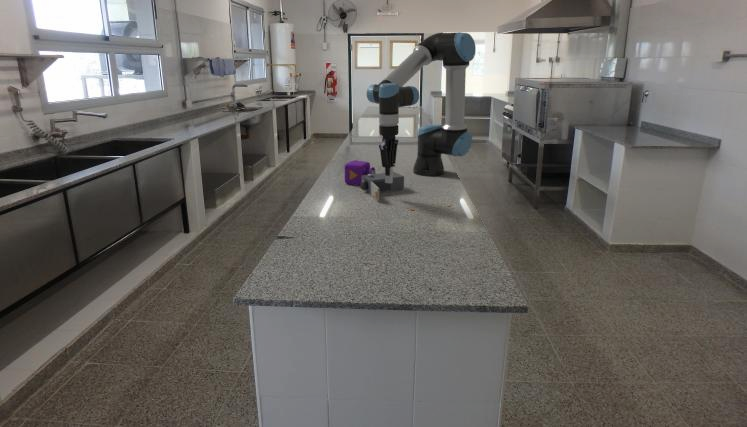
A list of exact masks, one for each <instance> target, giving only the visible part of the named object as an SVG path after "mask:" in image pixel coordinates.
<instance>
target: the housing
mask: <svg viewBox="0 0 747 427" xmlns="http://www.w3.org/2000/svg"><path fill="white" fill-rule="evenodd" d="M371 181H373V183H374V184H375V185H376V186H377V187H378V188H379V194H382V193H383V194H384V193H390V192H399V191H404V190H405V176H404V175H402V174H400V173H397V172H396V171H393V183H385V172H380V173H375V174H368V175H362V176H361V185H360V188H361V189H360V190H362V191H365V192H366V193H368V194H369V195H371Z"/></svg>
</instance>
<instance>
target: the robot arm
mask: <svg viewBox="0 0 747 427" xmlns="http://www.w3.org/2000/svg"><path fill="white" fill-rule="evenodd" d="M476 50H477V49H476V42H475V40H474V38H473V36H472V35H471V34H470V33H467V32H462V31H461V32H437V33H435V34H431V35H429V36H428V37H425V38H424V39H423V40H422V41H420V42H419V43H418V44H417V45H416V46H414V48H413V50H412V53H410V54H409V55H408V56H407V57H406V58H405V59H404V60H402V62H401V63H400V64H398V66H396V68H394V69H393V70H391V72H390V73H389V74H388V75H387V76H385V78H384V79H382V81H380V82H379V83H378V84H377V83H375V84H370V85H369V86H368V87H367V90H366V98H367V100H368V101H369V102H370V103H372V104H377V105H379V106H378V107H379V110H378V113H379V115H378V119H379V120H378V121H379V125H378V130H379V135H380V136H382V140H381V141H382V142H381V144H379V145H378V148H379V152H380V159H381V160H380V161H381V166H382V168H384V173H385V183H393V172H394V171H393V167H394V168H395V167H396V161H397V153H398V152H397V151H398V144H399V139H396V136H397V135H399V122H400V121H399V120H400V119H399V108H403V107H411V106H414V105H416V104H417V103H418V102H419V101H420V91H419V89H418V88H417V87H416V86H412V85H406V84H407V83H408V82H409V81H410V80H411V79H412V78H413V77H414V76H415V75H416V74H417V73H418V72H419V71H420V70H421V69H422V68H423V67H425V66H428V65H430V64H431V63H432V62H435V61H441V62H442V67H443V68H444V69H445V108H444V109H445V110H444V111H445V115H444V116H445V117H444V118H445V120H444V122H445V123H444V124H430V125H423V126H420V127H419V128H418V133H417V157H416V159H415V162H414V165H413V168H412V169H413V170H412V171H413V173H414V174H415V175H419V176H425V177H426V176H429V177H430V176H431V177H432V176H433V177H434V176H441V175H443V174H445V167H444V163H443V159H442V155H446V156H447V155H448V156H452V157H460V158H461V157H464V156H466V154H468V152H469V151H470V149H471V147H472V143H473V135H472V134H471V132H470V131H468V126H467V124H466V123H465V111H466V110H465V107H466V106H465V105H466V104H465V103H466V71H467V68H468V67H469V66H470V62H471V61H473V60H474V58H475V54H476ZM404 85H406V86H404Z"/></svg>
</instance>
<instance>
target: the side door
mask: <svg viewBox="0 0 747 427" xmlns="http://www.w3.org/2000/svg"><path fill="white" fill-rule="evenodd" d="M370 195H371V196H372V197H373V198H374V199H375V200H376V201H377V202H378V201H380V193H379V188H378V187H377V186H376V185H375V184H374V183H373V181H371V194H370Z"/></svg>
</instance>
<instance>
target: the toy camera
mask: <svg viewBox="0 0 747 427" xmlns="http://www.w3.org/2000/svg"><path fill="white" fill-rule="evenodd" d="M368 174H376V169H375V167H371V163H370V162H369V161H364V160H357V159H355V158H354V159H352V160H351V161H349V162H347V163H345V165H344V182H345V184H349V185H354V186H361V176H362V175H368Z"/></svg>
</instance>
